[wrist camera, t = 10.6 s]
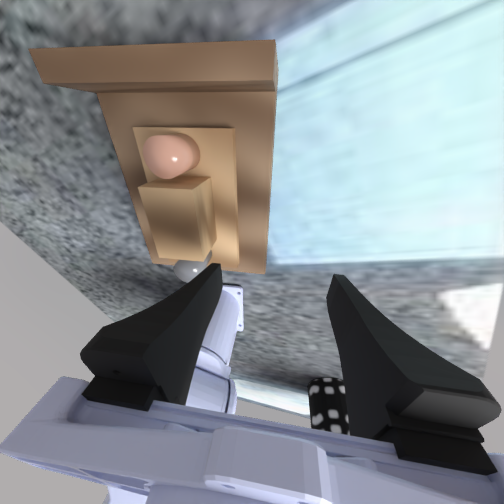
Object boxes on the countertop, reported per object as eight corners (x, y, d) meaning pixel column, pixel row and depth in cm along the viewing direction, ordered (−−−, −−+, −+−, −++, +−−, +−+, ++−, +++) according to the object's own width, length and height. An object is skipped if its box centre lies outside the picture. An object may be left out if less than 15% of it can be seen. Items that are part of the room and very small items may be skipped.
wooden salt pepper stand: (239, 262, 22) (228, 294, 18) (173, 256, 23) (148, 285, 19) (235, 128, 15) (216, 128, 11) (140, 127, 16) (89, 126, 12)
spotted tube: (352, 398, 39) (403, 597, 23) (310, 397, 42) (328, 577, 25) (351, 377, 35) (410, 600, 19) (304, 377, 38) (320, 576, 21)
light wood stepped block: (266, 264, 24) (261, 299, 19) (161, 254, 26) (131, 285, 21) (278, 69, 14) (275, 39, 9) (107, 73, 16) (28, 48, 11)
